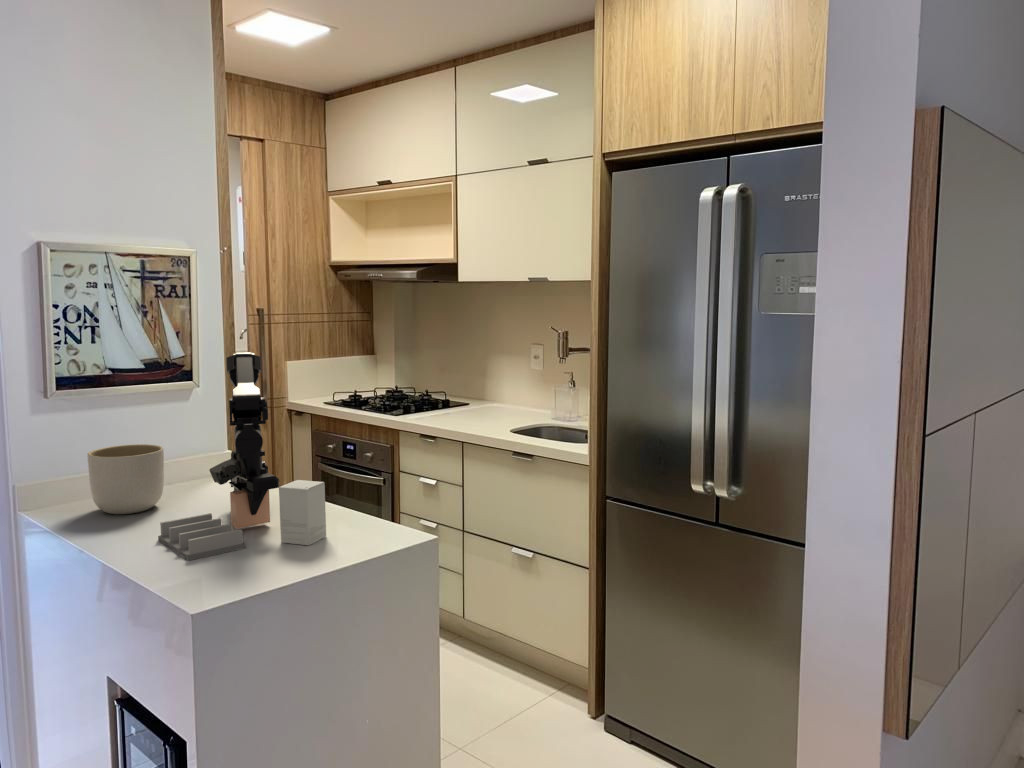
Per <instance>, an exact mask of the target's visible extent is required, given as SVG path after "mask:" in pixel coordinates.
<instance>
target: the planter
mask: <svg viewBox="0 0 1024 768" xmlns="http://www.w3.org/2000/svg"><path fill="white" fill-rule="evenodd" d="M164 457H165V455H164V447H163V446H161V445H157V444H145V443H144V444H143V443H142V444H140V443H139V444H135V443H134V444H122V445H120V444H119V445H113V446H106V447H100V448H97V449H92V450H91V451H89V452H88V453H87V463H88V465H87V467H88V478H89V487H90V488H89V489H90V494H91V497H92V501H93V503H94V504H95V506H96V507H97V508H98V509H100V510H101V511H103V512H104V513H107V514H110V515H112V514H113V515H130V514H131V515H132V514H137V513H141V512H145V511H147V510H150V509H152V508H153V507H154V506H155V505H157V503H158V502H159V501H160V500H161V498H162V496H163V493H164V486H165V483H164V482H165V468H164V466H165V464H164V463H165V460H164Z"/></svg>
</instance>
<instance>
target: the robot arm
mask: <svg viewBox="0 0 1024 768" xmlns="http://www.w3.org/2000/svg"><path fill="white" fill-rule="evenodd" d="M225 358H226V359H225V362H226V374H227V375H229V381H230V383H231V385H232V386H233V389H232V390H231V395H232V398H229V399H228V401H229V402H228V405H229V427H230V426H235V427H234V450H233V451H231V453H230V459H228V460H224V461H222V462H220V463H218V464H217V465H215V466H213V467H211V468H210V469H208V470H209V473H210V476H211V478H212V479H213V480H212V481H214V483H217V484H218V485H220V486H221V485H224V484H225V485H226V484H227V483H228V484H229V485H230V488H233V491H239V490H243V491H245V492H246V493H247V495H248V501H249V507H250V512H251V515H256V514H257V511H258V509H259V507H260V505H261V503H262V500H263V498H264V496H265V494H266V493H267V491H268V490H269V491H270V490H273V489H279V487H280V479H279V477H277V476H276V475H274V474H272V473H269V466H268V465H267V464H266V461H265V460H263V456H265V457H266V451H265V450H262V448H263V445H264V439H263V435H262V427H261V425H265V424H266V423H267V422H266V421H268V420H269V414H268V413H269V411H268V402H267V401H266V398H265V397H264V396H263V397H262V392H261V389H260V388H259V387H258V386H257V383H258V381H259V374H261V373H262V357H261V356H259V355H257V354H255V353H254V352H249V351H248V352H247V351H246V352H245V351H244V352H236V353H233V354H232V355H230V356H227V357H225ZM228 481H229V482H228Z"/></svg>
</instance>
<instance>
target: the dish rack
mask: <svg viewBox="0 0 1024 768" xmlns="http://www.w3.org/2000/svg"><path fill="white" fill-rule="evenodd" d="M212 516H213V515H212V513H204V514H199V515H198V514H197V515H194V516H193V515H192V516H188V517H181V518H177V519H172V520H171V519H170V520H166V521H161V522H160V534H159V535H157V539H158V541H159V542H160V543H162V544H163V545H165V546H166V547H168V548H169V549H170V550H173V551H174V552H175V553H176V554H178V555H179V556H180V557H182V558H184V559H185V560H187V561H193V560H198V559H201V558H202V559H203V558H207V557H211V556H215V555H216V556H217V555H221V554H225V553H228V552H233V551H238V550H242V549H243V550H244V549H246V542H244V541H243V529H242V528H238V529H233V527H232V524H231V523H227V524H222V519H221V518H220V517H217V518H214V519H213V517H212Z"/></svg>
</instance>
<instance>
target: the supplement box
mask: <svg viewBox="0 0 1024 768" xmlns="http://www.w3.org/2000/svg"><path fill="white" fill-rule="evenodd" d="M325 484H326V483H325V482H324V481H317V480H316V481H315V480H314V481H313V480H305V479H302V480H301V479H296V480H293V481H291V482H289V483H285V484H283V485H281V486H279V488H278V499H279V501H278V503H279V523H280V542H281V543H283V544H284V543H285V544H294V545H300V546H301V545H302V546H311V545H312V544H314V543H317V542H318V541H320V540H322V539H324V538H325V537H327V520H326V519H327V518H326V517H327V515H326V514H327V513H326V491H325V490H326V485H325Z"/></svg>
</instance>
